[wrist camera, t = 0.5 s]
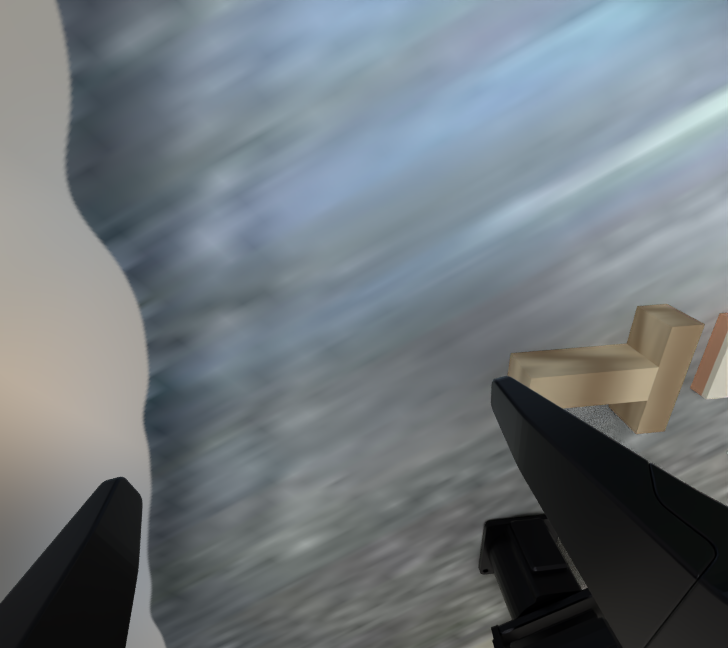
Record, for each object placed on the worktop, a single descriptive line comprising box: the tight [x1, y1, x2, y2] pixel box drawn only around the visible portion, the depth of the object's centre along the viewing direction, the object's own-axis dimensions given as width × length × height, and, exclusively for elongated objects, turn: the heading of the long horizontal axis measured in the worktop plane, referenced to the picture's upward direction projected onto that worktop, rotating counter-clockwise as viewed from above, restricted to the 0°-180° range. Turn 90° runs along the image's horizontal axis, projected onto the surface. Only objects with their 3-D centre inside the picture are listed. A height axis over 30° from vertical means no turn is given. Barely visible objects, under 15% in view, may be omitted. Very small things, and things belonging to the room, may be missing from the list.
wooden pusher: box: [508, 304, 705, 434], centre depth 27 cm, size 10×8×3 cm
